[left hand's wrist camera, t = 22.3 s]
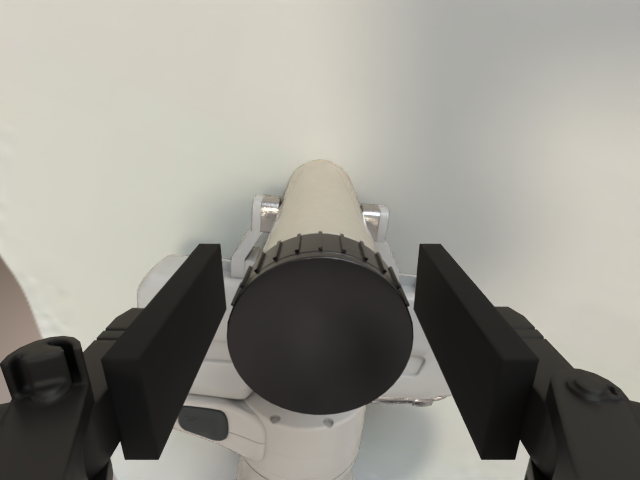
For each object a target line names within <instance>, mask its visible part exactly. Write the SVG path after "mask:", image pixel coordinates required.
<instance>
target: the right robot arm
mask: <svg viewBox="0 0 640 480" xmlns="http://www.w3.org/2000/svg"><path fill="white" fill-rule="evenodd" d="M281 202H282V197H281V196H271V195H263V194H256V196H255V197H254V199H253V204H252V226H251V227H250V229H249V230H248V232H247V233H246V235H245V236H244V238H243V239H242V241H241V242H240V244H239V245H238V247H237V249H236V251H235V252H234V254H233V256H232V257H231V260H230V259H222V267H223V277H224V287H225V298H226V308H227V310H226V312H225V314H224V316H223V318H222V321H221V323H220V325H219V327H218V329H217V332H216V334H215V336H214V338H213V340H212V343H211V345H210V347H209V349H208V352H207V354H206V356H205V358H204V360H203V363H202V365H201V367H200V369H199V371H198V374H197V376H196V378H195V380H194V382H193V385H192V387H191V389H190V391H189V394H188V396H187V398H186V400H185V402H184V405H183V407H182V409H181V411H180V413H179V416H178V418H177V420H176V422H175V424H174V427H173V428H174V429H176V430H179V431H183V432H186V433H189V434H192V435H195V436H198V437H201V438H204V439H207V440H209V441H212V442H214V443H217V444H219V445H222V446H224V447H226V448H228V449H230V450H232V451H234V452H236V453H238V454H240V455H241V458H240V461H239V464H238V468H237V475H236V480H353V471H352V466H353V464H354V462H355V460H356V458H357V455H358V452H359V448H360V441H361V436H362V430H363V424H364V418H365V413H366V406H367V405H364V406H362V407H360V408H357V409H354V410H351V411H348V412H343V413H338V414H330V415H310V414H302V413H297V412H292V411H289V410H286V409H283V408H280V407H278V406H276V405H274V404H272V403H270V402H268V401H266V400H265V399H263V398H262V397H260V396H259V395H258V394H256V393H255V392H254V391H253V390H252V389H251V388H250V387H249V386H248V385H247V384H246V383H245V382H244V381H243V380H242V378H241V377H240V376H239V374H238V372H237V371H236V369H235V367H234V365H233V363H232V360H231V358H230V354H229V350H228V346H227V322H228V319H229V316H230V313H231V311H232V308H233V306H231V303H232V300H233V298H234V296H235V294H236V291H237V289H238V287H239V285H240V282H242V280H243V278H244V275H245V273H246V271H247V269H248V267H249V265H250V266H253V264H254V263H255V262H256V261H257V260H258V259H259V256H260V248H258V247H253V246H254V245H255V243H256V242H257V240H258V239H259V237H260V236H261V234H262V233H263V232H270V230H271V228H272V225H273V223H274V220H275V217H276V215H277V212H278V210H279V207H280V205H281ZM360 207H361V209H362V212H363V215H364V217H365V220H366V222H367V225H368V227H369V230H370V232H371V235H372V238H373V240H374V243H375V245H376V248H377V250H378V252H379V253H380V255H381V257H382V259H383V260H384V262H385V263H386V264H387V265H388V267H390V266H391V267H392V268H393V270H394V272H395V275H396V277H397V279H398V281H399V283H400V284H401V286H402V289H403V291H404V293H405V295H406V298H407V300H408V302H409V305H410V306H409V307H408V310H409V312H410V315H411V319H412V322H413V335H414V339H413V347H412V351H411V355H410V359H409V361H408V363H407V366H406V368H405V370H404V371H403V373H402V374H401V376H400V377H399V379H398V380H397V381H396V382H395V384H394V385H393V386H392V387H391V388H390V389H389V390H388V391H387V392H385V393H384V394H383V395H381V396H380V397H379V398H377V399H376V400H374V401H372V402H370V403H377V404H412V405H413V406H419V407H424V406H431V405H432V403H433V401H438V400H441V399H444V398H446V397H447V396H451V395H452V394H451V391H450V389H449V387H448V385H447V382H446V380H445V378H444V376H443V374H442V371H441V369H440V367H439V365H438V363H437V360H436V358H435V356H434V354H433V352H432V349H431V347H430V345H429V343H428V340H427V338H426V336H425V334H424V332H423V329H422V327H421V325H420V323H419V321H418V318H417V316H416V314H415V312H414V310H413V308H414V298H415V287H416V277H417V275H412V274H400V272H399V269H398V267H397V265H396V262H395V260H394V258H393V255H392V253H391V250H390V248H389V246H388V243H387V241H386V234H387V227H388V221H389V210H388V208H387V207H386V205H375V204H362V203H361V205H360ZM188 257H189V256H182V255H169V256H166V257H165V258H164V259H162V260H161V261H160V262H159V263H158V264H157V265H155V266H154V267H153V268H152V269H151V270H150V271H149V272H148V273H147V275H146V276H145V277H144V278H143V280H142V281H141V283H140V284H139V287H138V290H137V307H138V308H145V307H146V306H147V305H148V303H149V302H150V301H151V300H152V299H153V298H154V296H155V295H156V294H157V293H158V292H159V291H160V289H161V288H162V287H163V286H164V285H165V284H166V282H167V281H168V280H169V279H170V278H171V277H172V275H173V274H174V273H175V272H176V271H177V270H178V268H179V267H180V266H181V265H182V264H183V263H184V261H185V260H186V259H187V258H188Z"/></svg>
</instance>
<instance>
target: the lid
mask: <svg viewBox="0 0 640 480" xmlns="http://www.w3.org/2000/svg"><path fill="white" fill-rule="evenodd" d="M231 306H233V308H232V311H231V313H230V316H229V319H228V322H227V346H228V350H229V354H230V358H231V360H232V363H233V365H234V367H235V369H236V371H237V372H238V374H239V376H240V377H241V378H242V380H243V381H244V382H245V383H246V384H247V385H248V386H249V387H250V388H251V389H252V390H253V391H254V392H255V393H256V394H258V395H259V396H260V397H262V398H263V399H265V400H266V401H268V402H270V403H272V404H274V405H276V406H278V407H280V408H283V409H286V410H289V411H292V412H297V413H302V414H310V415H330V414H338V413H343V412H348V411H351V410H354V409H357V408H360V407H362V406H364V405H367V404H369V403H370V402H372V401H374V400H376V399H377V398H379V397H380V396H381V395H383V394H384V393H385V392H387V391H388V390H389V389H390V388H391V387H392V386H393V385H394V384H395V382H396V381H397V380H398V379H399V377H400V376H401V374H402V373H403V371H404V370H405V368H406V366H407V363H408V361H409V359H410V355H411V351H412V347H413V339H414V335H413V322H412V319H411V315H410V312H409V310H408V307H409V306H410V305H409V302H408V300H407V298H406V295H405V293H404V291H403V289H402V286H401V284H400V283H399V281H398V279H397V277H396V275H395V272H394V270H393V268H392V267H391V266H390V267H388V265H387V264H386V263H385V262H384V260H383V259H382V257H381V255H380V253H379V252H377V253H375V252H374V251H373V250H371V249H370V248H369V247H367V246H365V245H364V242H363V241H360V242H358V241H355V240H353V239H350V238H347V237H344V234H340V235H334V234H327V233H322V231H319V233H314V234H306V235H301V233H300V234H297V237H293V238H290V239H288V240H285V241H282V242H281V240H280V241H278V242H277V245H275V246H273V247H272V248H270V249H269V250H268V251H266V252H264V251H262V252H261V254H260V256H259V259H258V260H257V261H256V262H255V263H254V264H253V266H250V265H249V267H248V269H247V271H246V273H245V275H244V278H243V280H242V282H240V285H239V287H238V289H237V291H236V294H235V296H234V298H233V300H232V303H231Z"/></svg>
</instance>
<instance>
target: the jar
mask: <svg viewBox="0 0 640 480" xmlns="http://www.w3.org/2000/svg"><path fill="white" fill-rule="evenodd" d="M319 231H322V233H327V234H334V235H340V234H344V237H347V238H350V239H353V240H355V241H358V242H360V241H363V242H364V245H365V246H367V247H369V248H370V249H371V250H373V251H374V252H375V253H377V252H378V250H377V248H376V245H375V243H374V240H373V238H372V235H371V232H370V230H369V227H368V225H367V222H366V220H365V217H364V215H363V212H362V209H361V207H360V204H359V202H358V199H357V197H356V194H355V191H354V189H353V186H352V184H351V181H350V179H349V177H348V175H347V174H346V172H345V171H344V170H343V169H342V168H341V167H340V166H338V165H337V164H335V163H333V162H330V161H326V160H314V161H310V162H307V163H305V164H303V165H302V166H300V167H299V168H298V169H297V170H296V171H295V172H294V174H293V175H292V177H291V179H290V181H289V184H288V187H287V189H286V192H285V194H284V197H283V199H282V202H281V205H280V207H279V210H278V212H277V215H276V217H275V220H274V223H273V225H272V228H271V230H270V233H269V235H268V238H267V241H266V243H265V246H264V248H263V251H264V252H266V251H268V250H269V249H270V248H272V247H273V246H275V245H277V242H278V241H280V240H281V242H282V241H285V240H288V239H290V238H293V237H297V234H300V233H301V235H306V234H314V233H319Z"/></svg>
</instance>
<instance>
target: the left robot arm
mask: <svg viewBox="0 0 640 480" xmlns="http://www.w3.org/2000/svg"><path fill="white" fill-rule="evenodd" d="M226 310H227V308H226V298H225V287H224V277H223V267H222V257H221V246H220V244H199V245H198V246H197V247H196V249H195V250H194V251H193V252H192V253H191V254H190V256H189V257H188V258H187V259H186V260H185V261H184V263H183V264H182V265H181V266H180V267H179V268H178V270H177V271H176V272H175V273H174V274H173V275H172V277H171V278H170V279H169V280H168V281H167V282H166V284H165V285H164V286H163V287H162V288H161V289H160V291H159V292H158V293H157V294H156V295H155V296H154V298H153V299H152V300H151V301H150V302H149V303H148V305H147V306H146V307H145V308H132V309H130V310H128V311H126V312H125V313H123V314H121V315H120V316H118V317H116V318H115V319H114V320H113V321H112V323H111V324H110V325H109V326H108V327H107V328H106V331H103V332H102V333H101V334H100V335H99V336H98V337H97V340H94V341H93V343H92V344H91V345H90V346H89V347H88V348H87V349H86V350H85V351H84V352H83V351H82V348H81V344H80V341H78V340H77V339H75V338H74V337H67V336H58V337H49V338H46V339H42V340H38V341H35V342H32V343H30V344H27V345H25V346H23V347H20V348H19V349H17V350H16V351H14V352H12V353H11V354H9V355H8V356H7V357H6V358H5V359H4V360H3V361H2V362H1V363H0V366H1V369H2V372H3V375H4V378H5V380H6V383H7V386H8V389H9V392H10V395H11V397H12V400H11V402H9V403H5V404H0V480H112V479H113V468H112V463H111V459H110V457H111V456H112V454H113V452H114V451H115V449H116V447H117V446H118V444H119V442H120V441H121V445H122V450H123V454H124V458H125V460H159V458H160V455H161V453H162V451H163V449H164V447H165V444H166V442H167V440H168V438H169V435H170V433H171V431H172V429H173V427H174V424H175V422H176V420H177V418H178V416H179V413H180V411H181V409H182V407H183V405H184V402H185V400H186V398H187V396H188V394H189V391H190V389H191V387H192V385H193V382H194V380H195V378H196V376H197V374H198V371H199V369H200V367H201V365H202V363H203V360H204V358H205V356H206V354H207V352H208V349H209V347H210V345H211V343H212V340H213V338H214V336H215V334H216V332H217V329H218V327H219V325H220V323H221V321H222V318H223V316H224V314H225V312H226ZM413 310H414V312H415V314H416V316H417V318H418V321H419V323H420V325H421V327H422V329H423V332H424V334H425V336H426V338H427V340H428V343H429V345H430V347H431V349H432V352H433V354H434V356H435V358H436V360H437V363H438V365H439V367H440V369H441V371H442V374H443V376H444V378H445V380H446V382H447V385H448V387H449V389H450V391H451V394H452V396H453V398H454V400H455V402H456V405H457V407H458V409H459V411H460V413H461V416H462V418H463V420H464V422H465V424H466V427H467V429H468V431H469V433H470V435H471V438H472V440H473V442H474V444H475V447H476V449H477V451H478V453H479V455H480V458H481V460H515V458H516V454H517V450H518V445H519V441H520V440H521V442H522V444H523V445H524V447H525V449H526V450H527V452H528V454H529V455H530V459H529V463H528V467H527V471H526V475H525V478H524V480H640V403H639V402H634V401H630V400H629V399H628V398H627V396H626V395H625V394H624V393H623V391H622V390H621V389H620V388H619V387H617V386H616V385H614V384H613V383H612V382H610V381H609V380H607V379H605V378H603V377H601V376H599V375H597V374H595V373H591V372H588V371H585V370H581V369H574V368H573V367H572V366H571V365H570V364H569V363H568V362H567V361H566V360H565V359H564V357H563V356H562V355H561V354H560V353H559V352H558V351H557V350H556V349H555V348H554V347H553V346H552V345H551V344H550V343H549V342H548V341H547V340H546V339H544V338H543V336H542V334H541V333H540V332H539V331H538V330H535V327H534V326H533V325H532V324H531V323H530V322H529V321H528V320H527V319H526V318H525V317H524V316H523V315H521V314H519V313H518V312H516V311H514V310H513V309H511V308H509V307H494V306H493V305H492V303H491V302H490V301H489V300H488V299H487V298H486V296H485V295H484V294H483V293H482V292H481V291H480V289H479V288H478V287H477V286H476V285H475V284H474V282H473V281H472V280H471V279H470V278H469V277H468V275H467V274H466V273H465V272H464V271H463V270H462V268H461V267H460V266H459V265H458V264H457V263H456V261H455V260H454V259H453V258H452V257H451V256H450V254H449V253H448V252H447V251H446V250H445V249H444V247H443V246H442V245H441V244H420V246H419V257H418V267H417V277H416V287H415V298H414V308H413Z"/></svg>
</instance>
